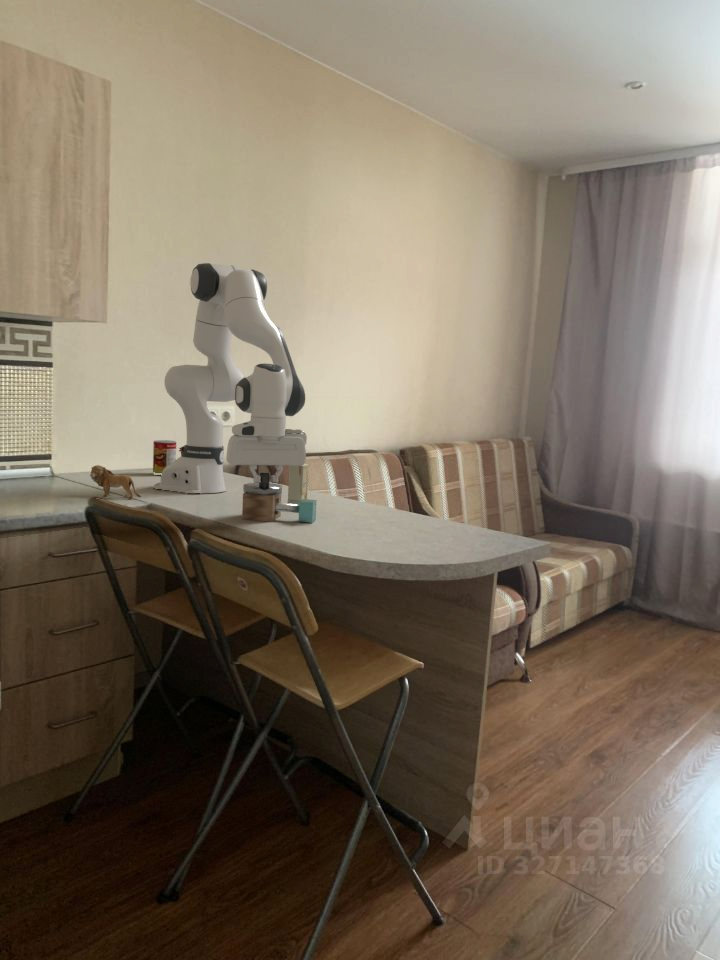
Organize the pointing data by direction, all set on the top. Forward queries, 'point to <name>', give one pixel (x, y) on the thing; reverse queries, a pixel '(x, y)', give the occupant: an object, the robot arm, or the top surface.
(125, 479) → the lion figurine
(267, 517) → the block
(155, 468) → the canned food
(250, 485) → the handwheel
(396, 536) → the top surface
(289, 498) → the skincare box
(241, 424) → the robot arm
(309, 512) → the teal and grey bar
